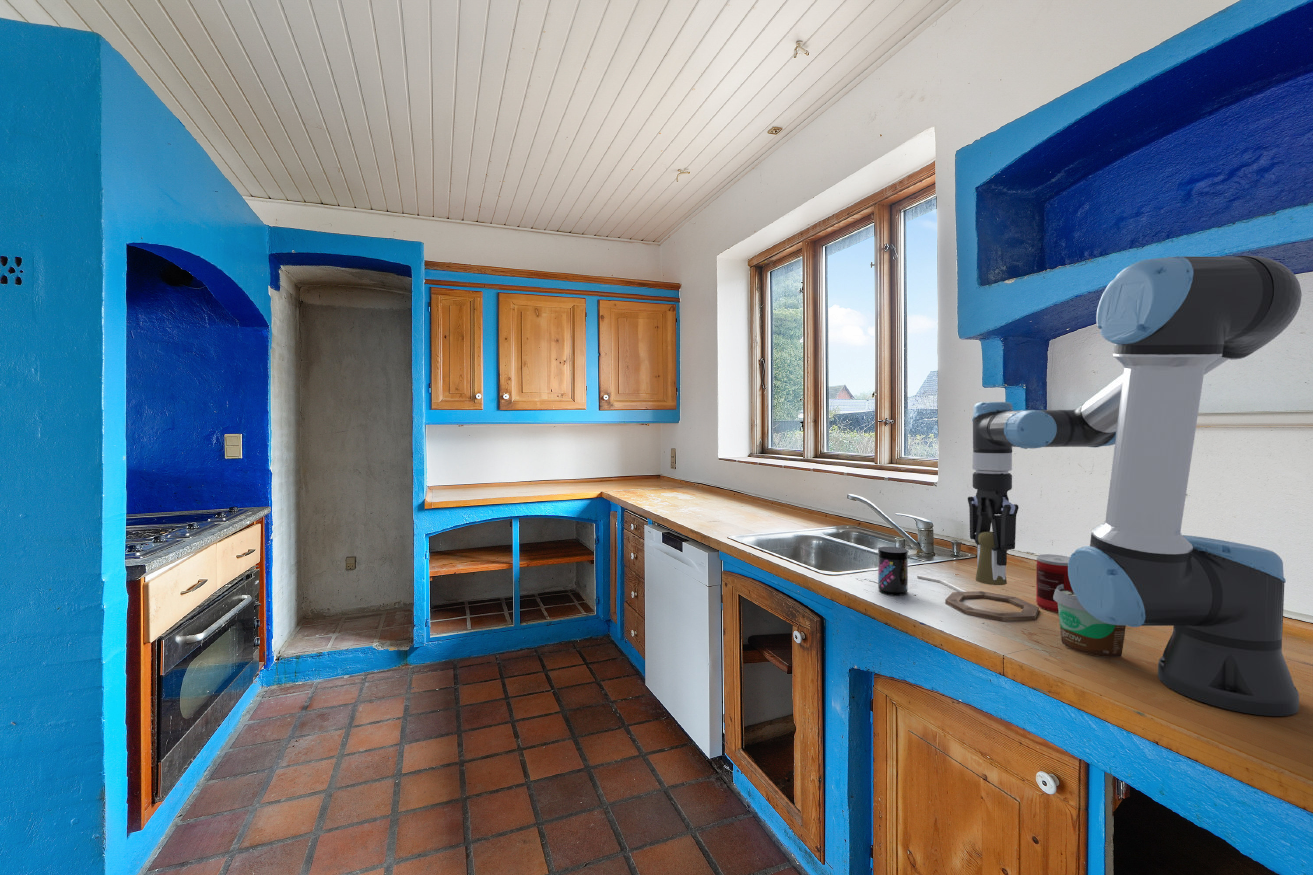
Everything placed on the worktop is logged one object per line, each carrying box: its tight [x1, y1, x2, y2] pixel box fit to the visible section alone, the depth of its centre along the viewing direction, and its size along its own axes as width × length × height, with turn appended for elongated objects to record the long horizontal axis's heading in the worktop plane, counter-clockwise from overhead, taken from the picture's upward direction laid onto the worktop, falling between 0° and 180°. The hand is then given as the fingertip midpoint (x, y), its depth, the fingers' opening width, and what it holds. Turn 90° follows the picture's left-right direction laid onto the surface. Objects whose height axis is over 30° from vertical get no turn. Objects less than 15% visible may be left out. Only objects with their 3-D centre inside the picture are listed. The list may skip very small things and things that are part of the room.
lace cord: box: [916, 574, 967, 592], centre depth 141 cm, size 15×4×1 cm, turn 5°
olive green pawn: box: [975, 531, 1008, 586], centre depth 124 cm, size 6×6×11 cm
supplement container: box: [877, 545, 909, 596], centre depth 136 cm, size 7×7×10 cm
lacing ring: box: [945, 590, 1040, 622], centre depth 125 cm, size 17×17×1 cm
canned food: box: [1035, 553, 1073, 613], centre depth 124 cm, size 8×8×11 cm
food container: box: [1053, 584, 1127, 658], centre depth 102 cm, size 12×6×10 cm, turn 19°
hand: (991, 575), depth 125 cm, fingers closed on olive green pawn, 4 cm apart
